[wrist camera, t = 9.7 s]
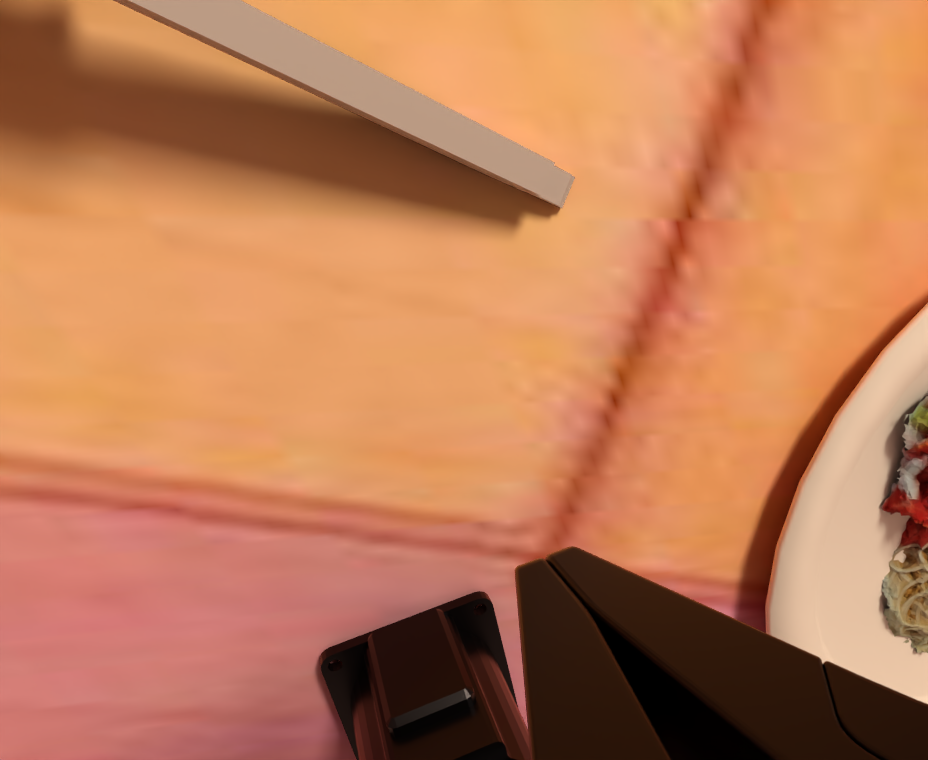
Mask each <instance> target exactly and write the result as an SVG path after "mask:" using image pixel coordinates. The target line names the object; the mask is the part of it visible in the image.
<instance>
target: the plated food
mask: <svg viewBox="0 0 928 760" xmlns="http://www.w3.org/2000/svg"><path fill="white" fill-rule="evenodd" d="M765 611H766V633H767V634H769V635H771V636H774V637H776V638H778V639H780V640H783V641H785V642H787V643H789V644H791V645H794V646H796V647H798V648H800V649H802V650H805V651H807V652H809V653H811V654H813V655H816V656H818V657H820V658H821V660H822V663H824V662H825V661H829V662H832V663H834V664H836V665H838V666H840V667H843V668H845V669H847V670H849V671H852V672H854V673H856V674H858V675H860V676H863V677H865V678H867V679H870V680H872V681H874V682H877V683H879V684H881V685H884V686H886V687H888V688H891V689H893V690H895V691H898V692H900V693H902V694H905V695H907V696H909V697H912V698H914V699H916V700H919V701H921V702H924V703H927V704H928V303H927V304H926V305H925V306H924V307H923V308H922V309H921V310H920V311H919V312H918V313H917V314H916V315H915V316H914V317H913V319H912V320H911V321H910V322H909V323H908V324H907V325H906V326H905V327H904V328H903V329H902V330H901V331H900V332H899V333H898V334H897V335H896V336H895V337H894V338H893V339H892V341H891V342H890V343H889V344H888V345H887V346H886V347H885V348H884V349H883V350H882V351H881V353H880V354H879V355H878V357H877V358H876V360H875V361H874V362H873V364H872V365H871V366H870V368H869V369H868V371H867V372H866V373H865V375H864V376H863V377H862V379H861V380H860V382H859V383H858V384H857V386H856V387H855V388H854V390H853V391H852V393H851V394H850V395H849V397H848V398H847V399H846V401H845V402H844V404H843V405H842V406H841V408H840V409H839V411H838V412H837V413H836V415H835V416H834V418H833V420H832V422H831V424H830V426H829V428H828V429H827V431H826V433H825V435H824V437H823V439H822V441H821V442H820V444H819V446H818V448H817V450H816V452H815V454H814V456H813V457H812V459H811V461H810V463H809V465H808V467H807V469H806V470H805V472H804V474H803V476H802V478H801V480H800V482H799V484H798V487H797V490H796V493H795V495H794V498H793V501H792V504H791V506H790V509H789V512H788V515H787V518H786V520H785V523H784V526H783V529H782V531H781V534H780V537H779V540H778V543H777V545H776V550H775V555H774V561H773V566H772V572H771V577H770V583H769V588H768V594H767V600H766V605H765Z"/></svg>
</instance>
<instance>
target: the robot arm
mask: <svg viewBox="0 0 928 760" xmlns="http://www.w3.org/2000/svg"><path fill="white" fill-rule="evenodd" d="M515 581H516V593H517V605H518V616H519V628H520V640H521V652H522V663H523V675H524V687H525V698H526V710H527V722H528V729H527V727H526V724H525V722H524V720H523V718H522V716H521V714H520V711H519V709H518V705H517V701H516V697H515V693H514V689H513V685H512V681H511V677H510V673H509V669H508V665H507V661H506V657H505V653H504V649H503V644H502V640H501V636H500V632H499V628H498V624H497V620H496V616H495V612H494V608H493V604H492V602H491V600H490V598H489V596H488V595H487V594H486V593H485V592H480V591H479V592H474V593H471V594H469V595H466V596H463V597H461V598H458V599H456V600H453V601H450V602H448V603H445V604H442V605H440V606H437V607H435V608H432V609H429V610H427V611H424V612H421V613H419V614H416V615H414V616H411V617H408V618H406V619H403V620H400V621H398V622H395V623H393V624H390V625H387V626H385V627H382V628H379V629H377V630H374V631H371V632H369V633H366V634H364V635H361V636H358V637H356V638H353V639H350V640H348V641H345V642H343V643H340V644H337V645H335V646H332V647H330V648H328V649H326V650H325V651H324V652H323V653H322V654H321V657H320V664H321V671H322V674H323V676H324V679H325V681H326V684H327V686H328V689H329V691H330V694H331V696H332V699H333V701H334V704H335V706H336V709H337V711H338V714H339V716H340V719H341V721H342V724H343V726H344V729H345V731H346V734H347V736H348V739H349V741H350V744H351V746H352V749H353V751H354V754H355V756H356V759H357V760H928V704H927V703H924V702H921V701H919V700H916V699H914V698H912V697H909V696H907V695H905V694H902V693H900V692H898V691H895V690H893V689H891V688H888V687H886V686H884V685H881V684H879V683H877V682H874V681H872V680H870V679H867V678H865V677H863V676H860V675H858V674H856V673H854V672H852V671H849V670H847V669H845V668H843V667H840V666H838V665H836V664H834V663H832V662H829V661H825V662H824V663H822V660H821V658H820V657H818V656H816V655H813V654H811V653H809V652H807V651H805V650H802V649H800V648H798V647H796V646H794V645H791V644H789V643H787V642H785V641H783V640H780V639H778V638H776V637H774V636H771V635H769V634H767V633H765V632H763V631H760V630H758V629H756V628H754V627H752V626H749V625H747V624H745V623H743V622H741V621H738V620H736V619H734V618H732V617H730V616H727V615H725V614H723V613H721V612H719V611H716V610H714V609H712V608H710V607H708V606H705V605H703V604H701V603H699V602H696V601H694V600H692V599H690V598H688V597H685V596H683V595H681V594H679V593H677V592H674V591H672V590H670V589H668V588H666V587H663V586H661V585H659V584H657V583H655V582H652V581H650V580H648V579H646V578H644V577H641V576H639V575H637V574H635V573H632V572H630V571H628V570H626V569H624V568H621V567H619V566H617V565H615V564H613V563H610V562H608V561H606V560H604V559H602V558H599V557H597V556H595V555H593V554H591V553H588V552H586V551H584V550H582V549H580V548H577V547H573V546H571V547H567V548H565V549H562V550H559V551H557V552H554V553H551V554H549V555H547V557H546V558H545V559H542V558H538V559H535V560H533V561H530V562H527V563H525V564H522V565H519V566H517V567H516V569H515ZM478 604H482V606H481V607H479V608H475V606H477V605H478ZM333 660H339V661H338V662H337V663H330V662H331V661H333Z"/></svg>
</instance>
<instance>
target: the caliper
mask: <svg viewBox="0 0 928 760" xmlns="http://www.w3.org/2000/svg"><path fill="white" fill-rule="evenodd" d="M114 1H116V2H118V3H120V4H122V5H124V6H126V7H129V8H131V9H133V10H135V11H137V12H139V13H141V14H144V15H146V16H148V17H150V18H152V19H154V20H156V21H158V22H161V23H163V24H165V25H167V26H169V27H171V28H173V29H176V30H178V31H180V32H182V33H184V34H186V35H188V36H191V37H193V38H195V39H197V40H199V41H201V42H203V43H205V44H208V45H210V46H212V47H214V48H216V49H218V50H220V51H223V52H225V53H227V54H229V55H231V56H233V57H235V58H238V59H240V60H242V61H244V62H246V63H248V64H250V65H252V66H255V67H257V68H259V69H261V70H263V71H265V72H267V73H270V74H272V75H274V76H276V77H278V78H280V79H282V80H285V81H287V82H289V83H291V84H293V85H295V86H297V87H300V88H302V89H304V90H306V91H308V92H310V93H312V94H314V95H317V96H319V97H321V98H323V99H325V100H327V101H329V102H332V103H334V104H336V105H338V106H340V107H342V108H344V109H346V110H349V111H351V112H353V113H355V114H357V115H359V116H361V117H363V118H366V119H368V120H370V121H372V122H374V123H376V124H378V125H381V126H383V127H385V128H387V129H389V130H391V131H393V132H395V133H398V134H400V135H402V136H404V137H406V138H408V139H410V140H413V141H415V142H417V143H419V144H421V145H423V146H425V147H427V148H430V149H432V150H434V151H436V152H438V153H440V154H442V155H445V156H447V157H449V158H451V159H453V160H455V161H457V162H459V163H462V164H464V165H466V166H468V167H470V168H472V169H474V170H476V171H479V172H481V173H483V174H485V175H488V176H490V177H492V178H494V179H497V180H499V181H501V182H503V183H506V184H508V185H510V186H512V187H515V188H517V189H519V190H521V191H524V192H527V193H529V194H531V195H534V196H536V197H538V198H540V199H542V200H544V201H546V202H548V203H551V204H553V205H555V206H557V207H560V208H562V207H563V205H564V203H565V200H566V198H567V195H568V193H569V191H570V188H571V186H572V183H573V181H574V179H575V177H574V176H572V175H571V174H570V173H568V172H566V171H564V170H562V169H560V168H558V167H556V166H554V164H555V163H554V162H552V161H550V160H548V159H546V158H545V157H543V156H541V155H539V154H537V153H535V152H533V151H531V150H529V149H527V148H525V147H523V146H521V145H519V144H518V143H516V142H514V141H512V140H510V139H508V138H506V137H504V136H502V135H500V134H498V133H496V132H494V131H492V130H490V129H489V128H487V127H485V126H483V125H481V124H479V123H477V122H475V121H473V120H471V119H469V118H467V117H465V116H463V115H462V114H460V113H458V112H456V111H454V110H452V109H450V108H448V107H446V106H444V105H442V104H440V103H438V102H436V101H434V100H433V99H431V98H429V97H427V96H425V95H423V94H421V93H419V92H417V91H415V90H413V89H411V88H409V87H407V86H405V85H404V84H402V83H400V82H398V81H396V80H394V79H392V78H390V77H388V76H386V75H384V74H382V73H380V72H378V71H376V70H374V69H373V68H371V67H369V66H367V65H365V64H363V63H361V62H359V61H357V60H355V59H353V58H351V57H349V56H347V55H345V54H344V53H342V52H340V51H338V50H336V49H334V48H332V47H330V46H328V45H326V44H324V43H322V42H320V41H318V40H316V39H314V38H313V37H311V36H309V35H307V34H305V33H303V32H301V31H299V30H297V29H295V28H293V27H291V26H289V25H287V24H285V23H284V22H282V21H280V20H278V19H276V18H274V17H272V16H270V15H268V14H266V13H264V12H262V11H260V10H258V9H256V8H254V7H253V6H251V5H249V4H247V3H245V2H243V1H241V0H114Z"/></svg>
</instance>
